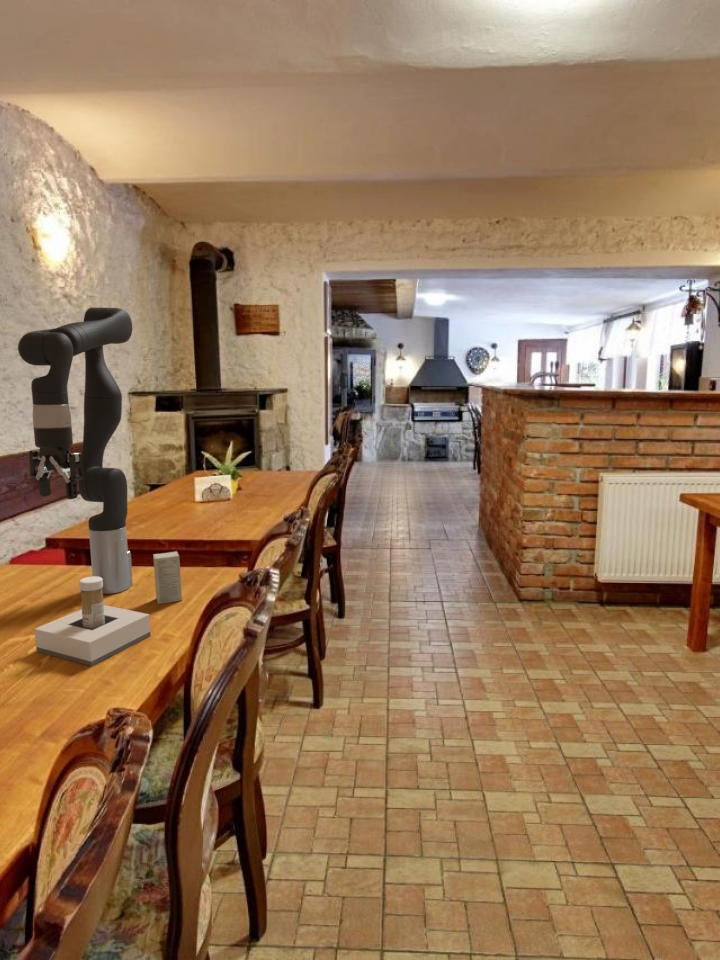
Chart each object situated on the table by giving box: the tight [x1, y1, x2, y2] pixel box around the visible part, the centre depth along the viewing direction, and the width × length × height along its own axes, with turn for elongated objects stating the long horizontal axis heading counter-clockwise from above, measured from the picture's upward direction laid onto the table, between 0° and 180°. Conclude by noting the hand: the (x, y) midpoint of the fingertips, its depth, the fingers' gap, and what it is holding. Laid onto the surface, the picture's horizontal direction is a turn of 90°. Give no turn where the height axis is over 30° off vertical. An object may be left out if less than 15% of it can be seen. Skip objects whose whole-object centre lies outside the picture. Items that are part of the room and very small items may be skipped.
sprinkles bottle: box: [79, 576, 105, 630], centre depth 129 cm, size 5×5×13 cm
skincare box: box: [152, 550, 183, 605], centre depth 155 cm, size 6×4×12 cm
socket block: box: [34, 604, 151, 667], centre depth 130 cm, size 16×16×5 cm
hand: (58, 497), depth 136 cm, fingers open, 8 cm apart
